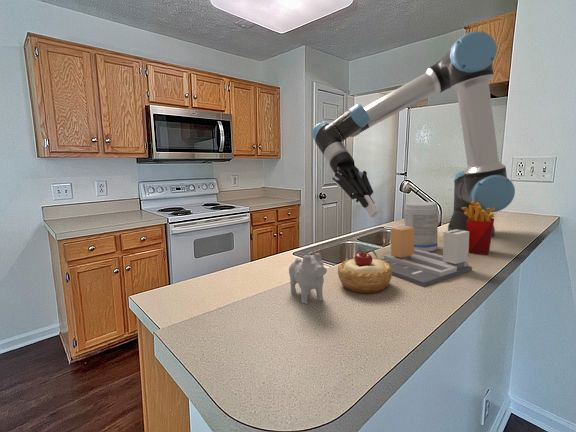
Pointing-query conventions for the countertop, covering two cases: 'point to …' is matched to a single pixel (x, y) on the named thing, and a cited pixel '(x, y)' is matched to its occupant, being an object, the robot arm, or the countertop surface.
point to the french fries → (479, 228)
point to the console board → (434, 261)
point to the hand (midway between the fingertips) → (374, 214)
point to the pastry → (365, 273)
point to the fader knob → (402, 242)
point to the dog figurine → (308, 275)
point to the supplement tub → (423, 224)
